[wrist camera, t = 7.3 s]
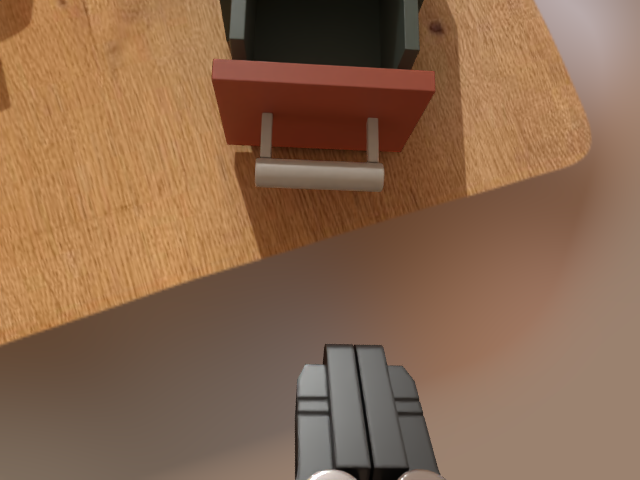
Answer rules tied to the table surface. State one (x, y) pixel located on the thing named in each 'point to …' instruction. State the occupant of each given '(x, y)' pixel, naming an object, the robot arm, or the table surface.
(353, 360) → the robot arm
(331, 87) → the drawer
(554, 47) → the table surface
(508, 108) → the table surface
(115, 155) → the table surface
